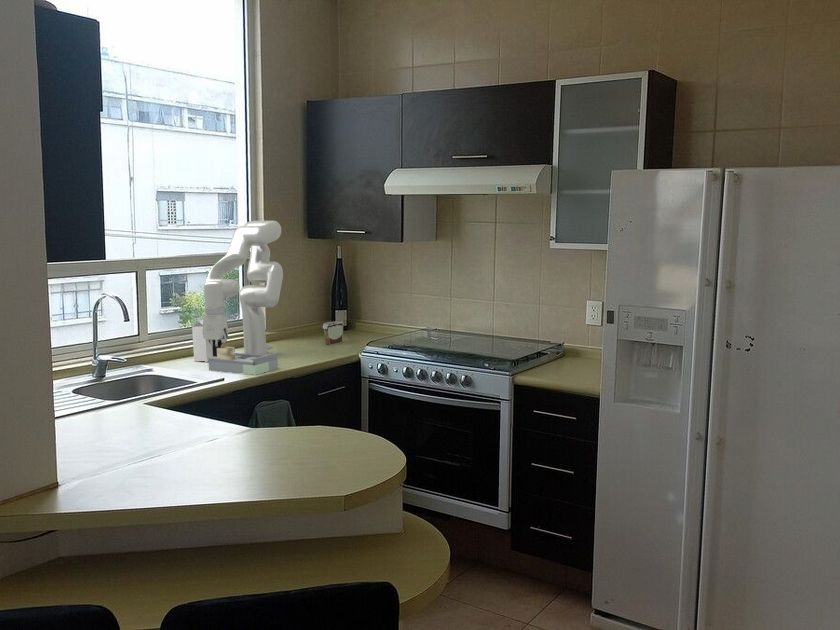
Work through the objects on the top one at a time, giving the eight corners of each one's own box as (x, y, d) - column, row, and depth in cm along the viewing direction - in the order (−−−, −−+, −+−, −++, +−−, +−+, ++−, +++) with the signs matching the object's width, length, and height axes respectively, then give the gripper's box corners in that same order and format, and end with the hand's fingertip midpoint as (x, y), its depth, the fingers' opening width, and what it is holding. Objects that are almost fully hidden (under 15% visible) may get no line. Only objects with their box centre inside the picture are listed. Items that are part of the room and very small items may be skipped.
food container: (335, 341, 393) (334, 320, 392) (344, 342, 390) (343, 321, 388) (317, 344, 383) (316, 324, 382) (327, 345, 380) (326, 324, 378)
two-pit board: (232, 364, 338) (231, 349, 337) (277, 368, 327) (277, 352, 326) (209, 370, 326) (208, 354, 325) (255, 375, 315) (254, 358, 314)
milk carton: (217, 359, 350) (215, 316, 347) (207, 362, 344) (204, 318, 341) (204, 358, 353) (202, 315, 350) (193, 361, 346) (191, 317, 344)
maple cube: (226, 358, 330) (225, 346, 329) (235, 359, 327) (234, 347, 327) (217, 360, 326) (216, 348, 325) (226, 361, 323) (225, 349, 322)
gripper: (194, 311, 327) (196, 356, 329) (222, 313, 320) (224, 358, 322) (207, 309, 333) (210, 353, 336) (235, 311, 326) (237, 355, 328)
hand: (217, 355), depth 329 cm, fingers closed
